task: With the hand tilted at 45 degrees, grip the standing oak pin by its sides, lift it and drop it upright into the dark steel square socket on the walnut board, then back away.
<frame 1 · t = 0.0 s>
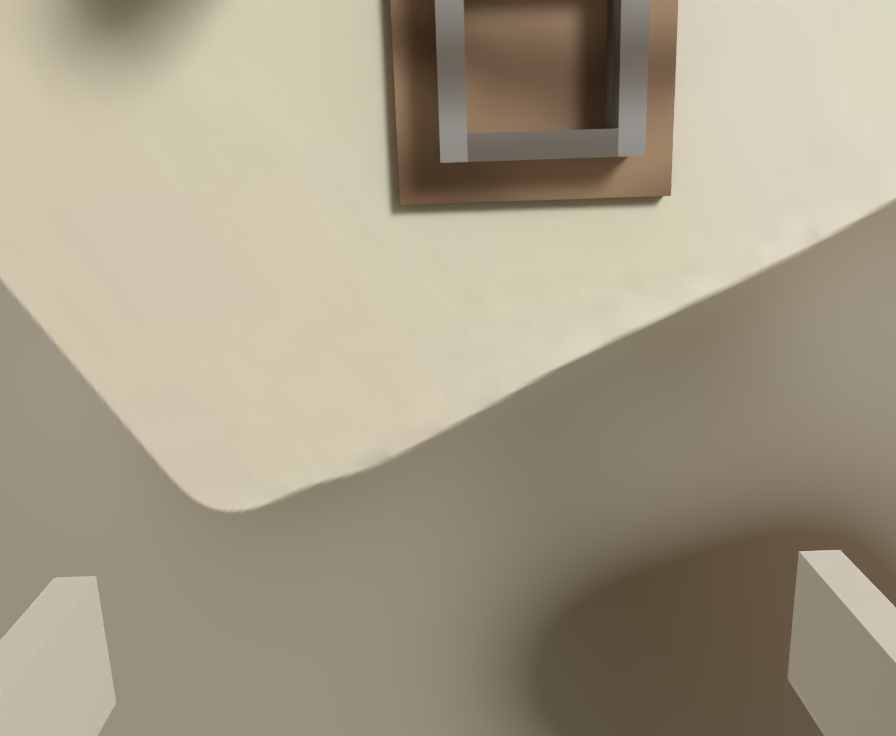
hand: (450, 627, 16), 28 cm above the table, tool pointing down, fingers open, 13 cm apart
socket board: (532, 58, 39), on the table
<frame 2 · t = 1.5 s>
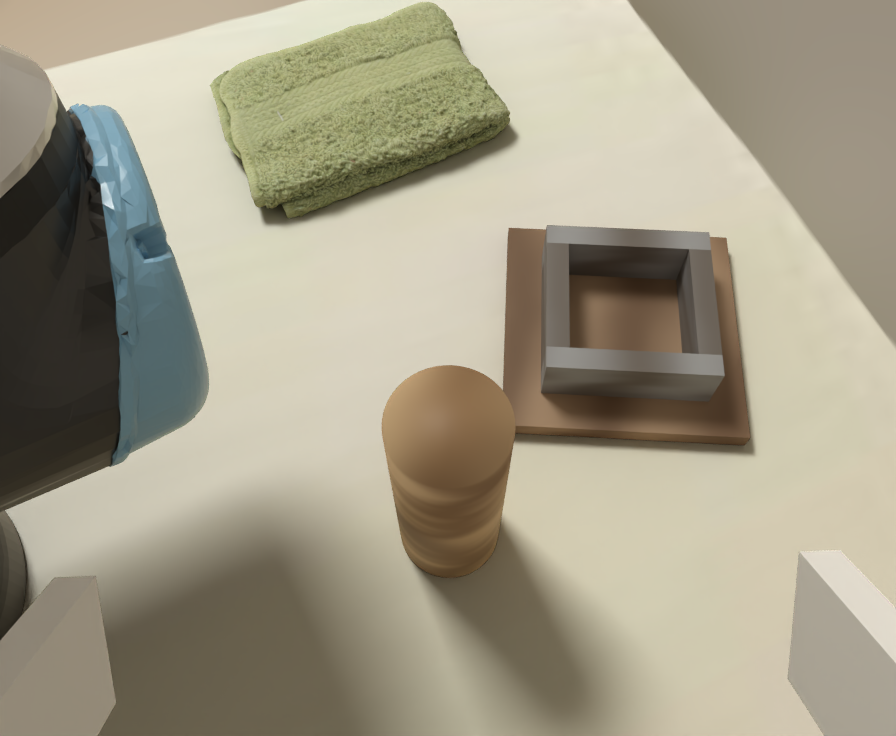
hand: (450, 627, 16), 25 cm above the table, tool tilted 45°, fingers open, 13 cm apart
washcloth: (359, 123, 57), on the table
socket board: (618, 334, 48), on the table
oak pin: (449, 528, 43), on the table
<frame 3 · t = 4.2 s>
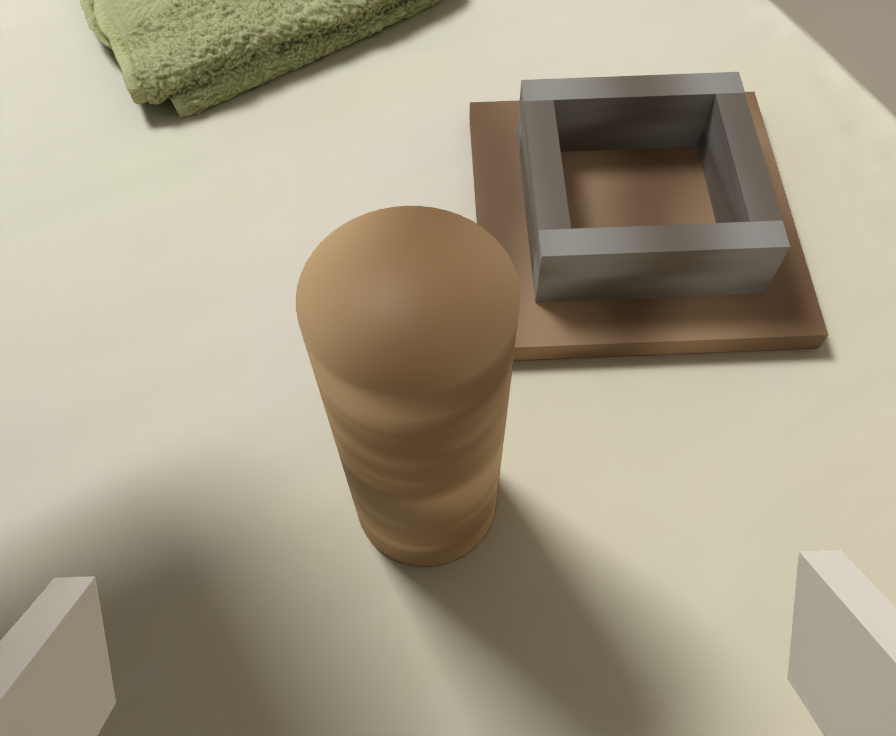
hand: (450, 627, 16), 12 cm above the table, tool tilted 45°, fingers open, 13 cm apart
washcloth: (267, 3, 44), on the table
socket board: (628, 223, 36), on the table
oak pin: (426, 497, 30), on the table
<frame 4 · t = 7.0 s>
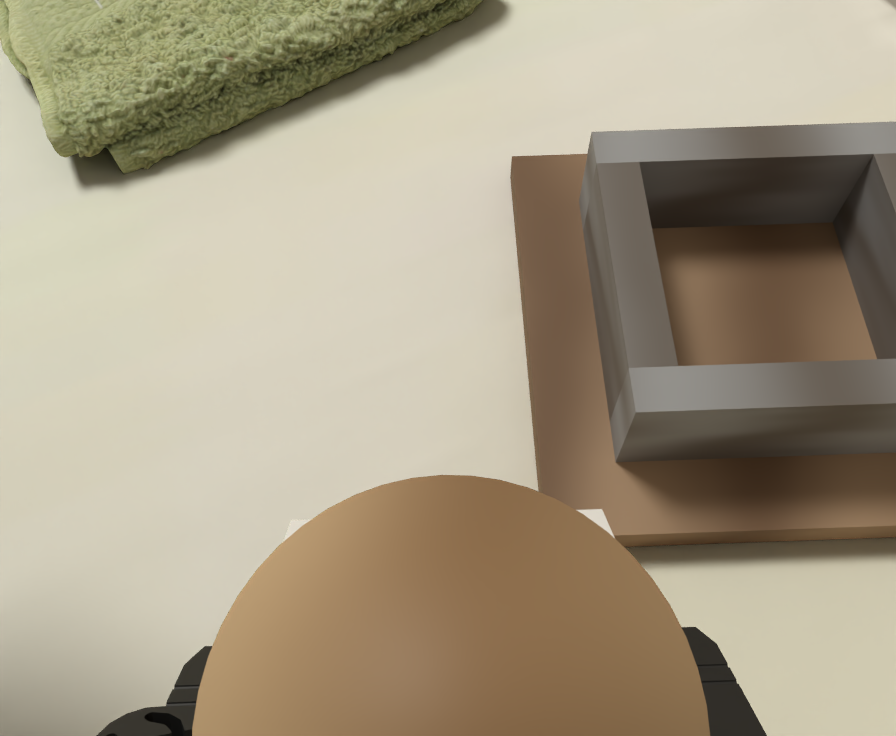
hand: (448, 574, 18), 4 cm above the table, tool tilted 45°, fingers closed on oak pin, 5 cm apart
washcloth: (243, 16, 34), on the table
socket board: (739, 332, 25), on the table
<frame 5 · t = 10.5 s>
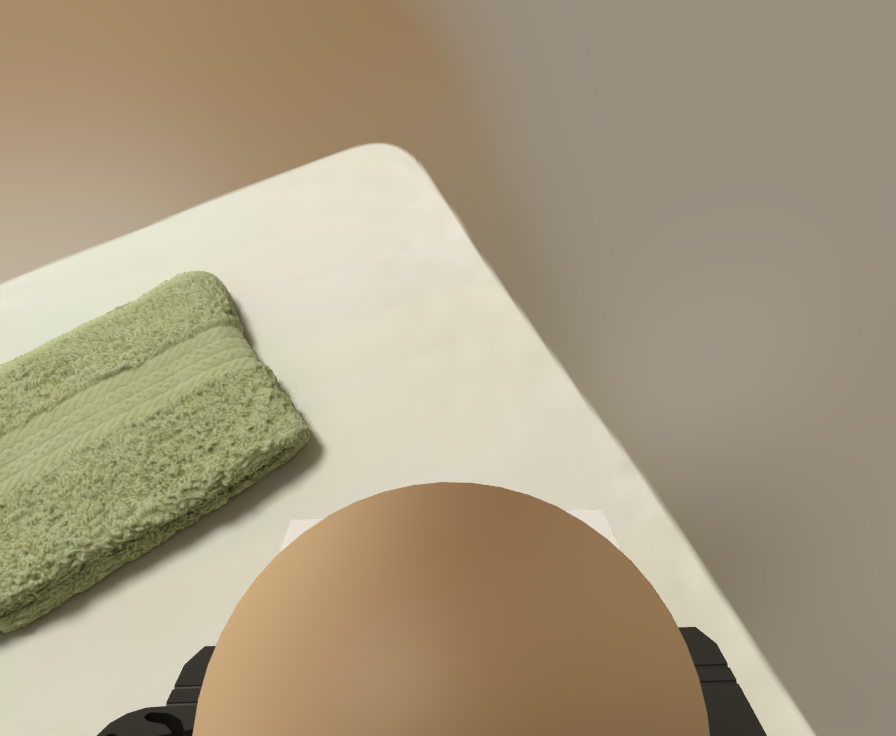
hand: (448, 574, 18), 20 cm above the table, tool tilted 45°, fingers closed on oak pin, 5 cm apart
washcloth: (113, 450, 42), on the table
when the fingers open (7 cm above the table, at t = 13.9 s): oak pin drops 1 cm, resting on socket board.
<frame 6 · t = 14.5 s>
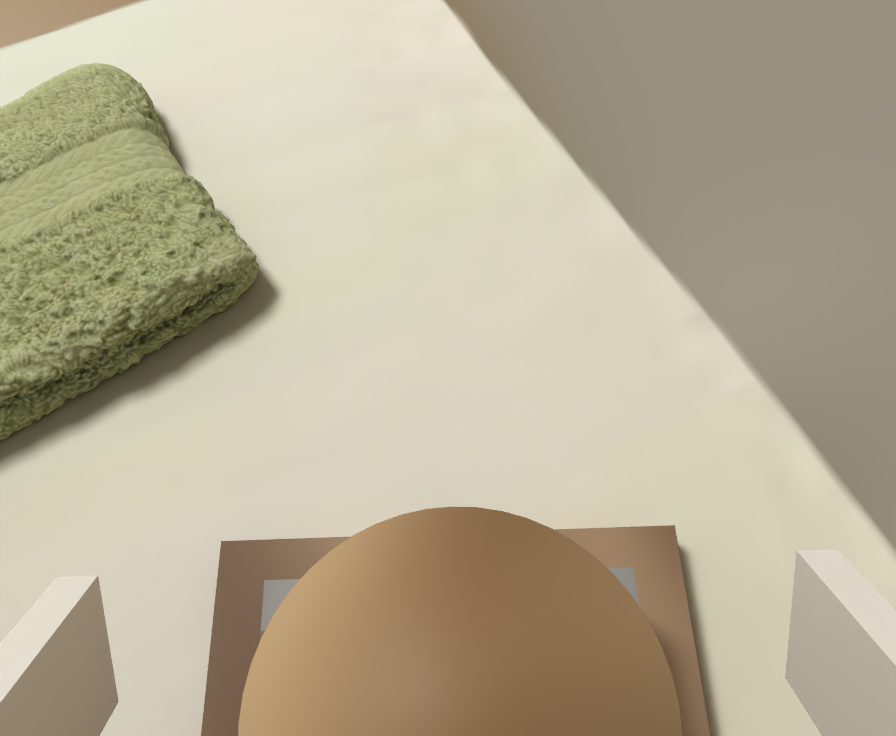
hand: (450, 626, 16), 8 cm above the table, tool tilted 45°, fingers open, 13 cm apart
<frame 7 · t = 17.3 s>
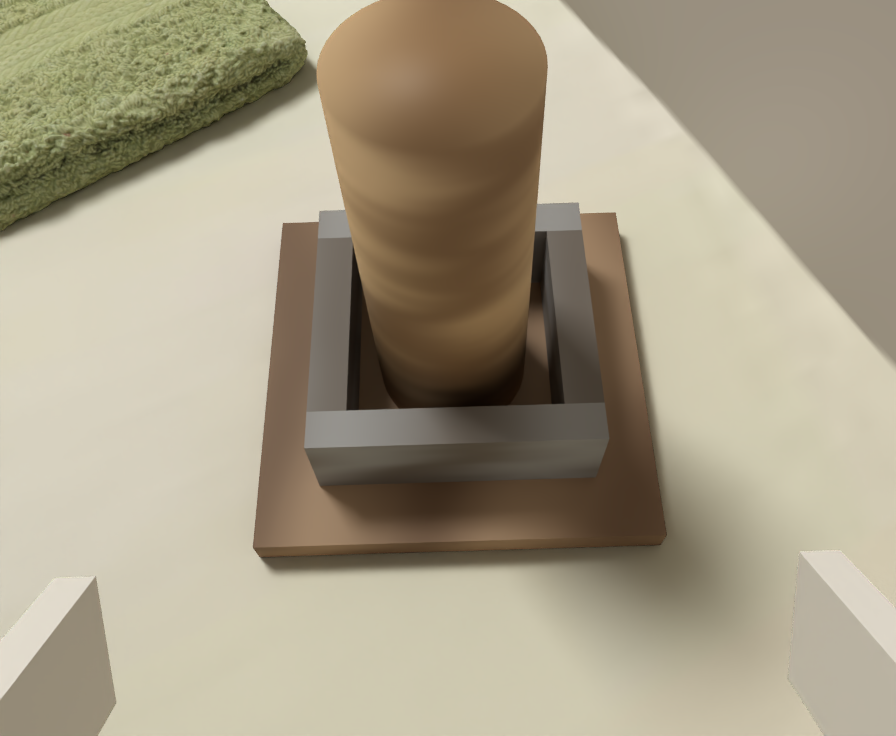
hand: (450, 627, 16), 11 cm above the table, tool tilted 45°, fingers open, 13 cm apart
washcloth: (96, 89, 39), on the table
socket board: (454, 375, 30), on the table
oak pin: (452, 364, 29), point 1 cm above the table, touching socket board
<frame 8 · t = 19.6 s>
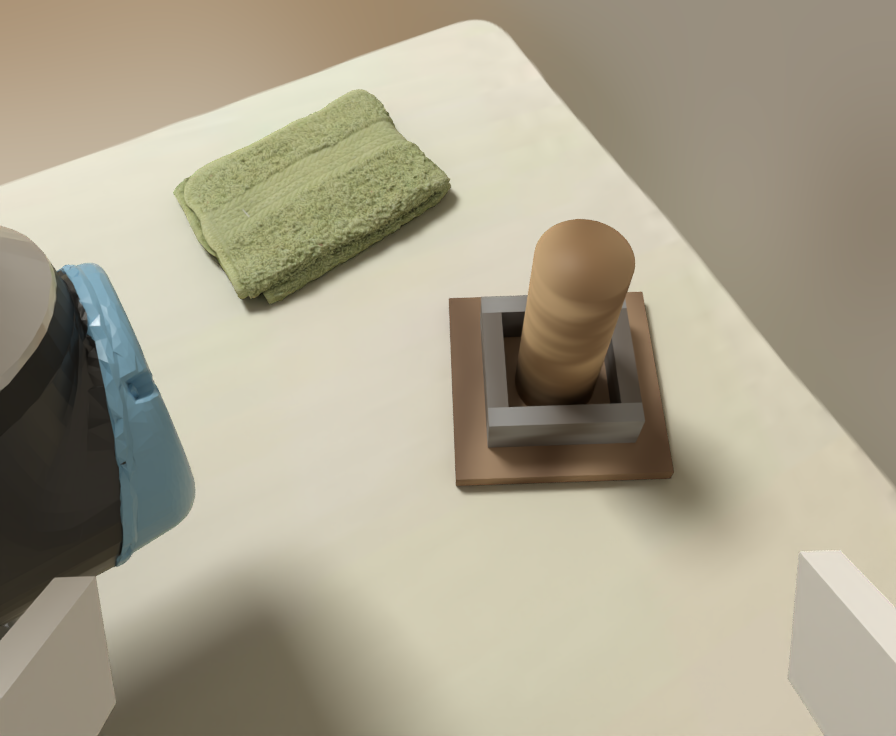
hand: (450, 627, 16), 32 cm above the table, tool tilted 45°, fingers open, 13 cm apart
washcloth: (315, 206, 63), on the table
socket board: (553, 387, 54), on the table
oak pin: (554, 381, 53), point 1 cm above the table, touching socket board
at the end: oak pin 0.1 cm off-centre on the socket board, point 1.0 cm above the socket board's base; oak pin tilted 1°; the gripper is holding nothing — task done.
